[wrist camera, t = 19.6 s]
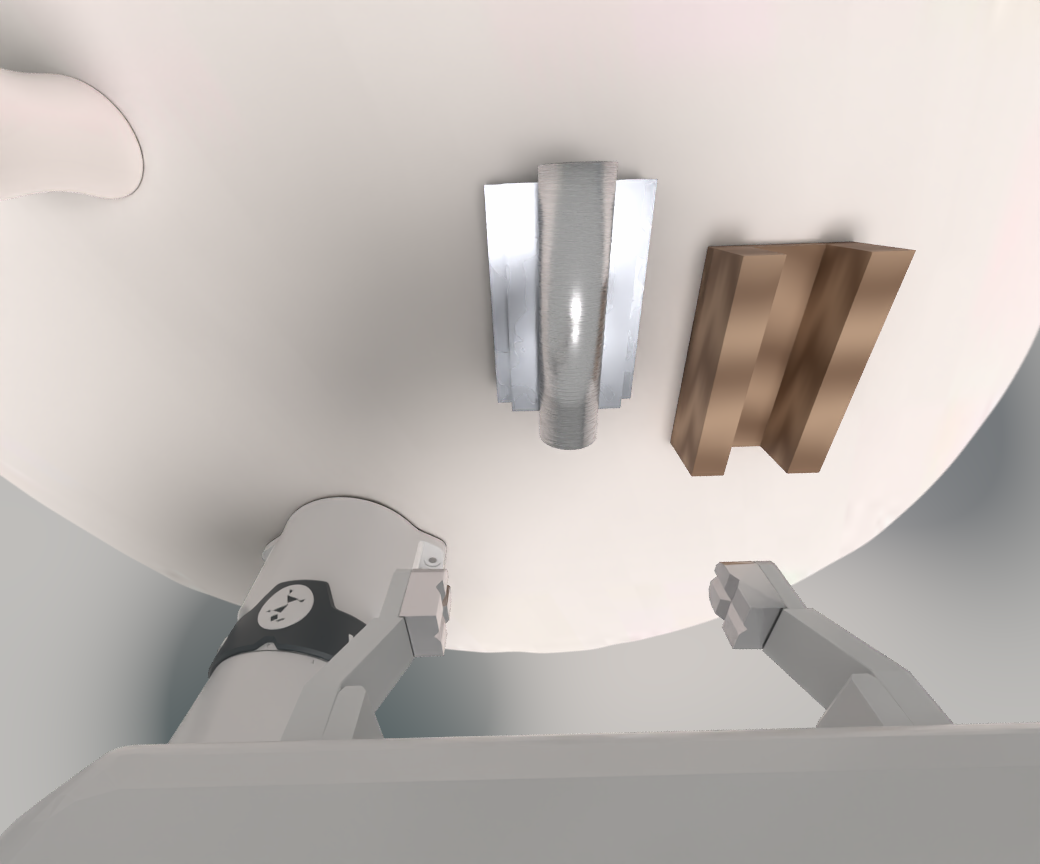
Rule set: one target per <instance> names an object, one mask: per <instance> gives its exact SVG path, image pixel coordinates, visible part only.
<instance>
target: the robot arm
mask: <svg viewBox="0 0 1040 864" xmlns="http://www.w3.org/2000/svg"><path fill="white" fill-rule="evenodd" d="M445 558H446V545H445V543H444V542H443V541H441V540H440V539H438V538H436V537H433V536H431V535H429V534H426V533H423V532H421V531H419V530H418V529H416V528H415V527H414V526H413V525H412V524H410V523H409V522H408V521H407V520H406V519H404V518H403V517H402V516H400V515H399V514H397V513H396V512H394V511H392V510H390V509H389V508H386V507H384V506H382V505H379V504H377V503H374V502H370V501H367V500H362V499H357V498H347V497H334V498H326V499H321V500H317V501H314V502H311V503H308V504H306V505H304V506H303V507H301V508H299V509H298V510H297V511H296V512H295V513H294V514H293V515H292V516H291V517H290V518H289V520H288V522H287V523H286V526H285V528H284V530H283V532H282V534H281V535H280V536H279V537H277V538H276V539H274V540H273V541H271V542H270V543H269V544H268V545H267V546H266V548H265V549H264V551H263V553H262V559H263V560H264V562H265V563H264V565H263V567H262V569H261V571H260V572H259V574H258V576H257V578H256V580H255V582H254V583H253V585H252V587H251V589H250V591H249V593H248V595H247V597H246V599H245V600H244V602H243V604H242V606H241V608H240V610H239V612H238V616H237V620H238V622H237V623H236V625H235V626H234V628H233V630H232V631H231V633H230V634H229V636H228V637H226V638H225V639H224V641H223V643H222V644H221V646H220V648H219V649H218V651H217V655H216V657H215V659H214V661H213V662H212V664H211V666H210V668H209V672H208V678H209V680H208V682H207V683H206V685H205V686H204V688H203V689H202V691H201V693H200V694H199V696H198V697H197V699H196V700H195V702H194V704H193V705H192V707H191V708H190V710H189V712H188V713H187V715H186V716H185V718H184V719H183V721H182V723H181V724H180V726H179V727H178V729H177V730H176V732H175V733H174V735H173V737H172V738H171V740H170V741H169V743H168V744H147V745H131V746H123V747H119V748H117V749H114V750H111V751H110V752H107V753H106V754H104V755H103V756H101V757H100V758H99V759H97V760H96V761H94V762H93V763H91V764H90V765H88V766H87V767H86V768H84V769H83V770H81V771H80V772H79V773H77V774H76V775H75V776H73V777H72V778H70V779H69V780H68V781H66V782H65V783H64V784H62V785H61V786H60V787H58V788H57V789H56V790H54V791H53V792H51V793H50V794H49V795H47V796H46V797H45V798H44V799H42V800H41V801H39V802H38V803H37V804H36V805H34V806H33V807H32V808H31V809H29V810H28V811H27V812H25V813H24V814H23V815H22V816H20V817H19V818H18V819H17V820H16V821H15V822H14V823H12V824H11V825H10V826H9V827H8V828H7V829H6V830H5V831H4V832H3V833H2V835H1V836H0V864H1040V722H1025V723H1024V722H1022V723H986V724H953V722H952V721H951V720H950V719H949V718H948V717H947V715H946V714H945V713H944V712H943V711H942V709H941V708H940V707H939V706H938V705H937V703H936V702H935V701H934V700H933V699H932V697H931V696H930V695H929V694H928V693H927V692H926V690H925V689H924V688H923V687H922V686H921V685H920V683H919V682H918V681H917V680H916V678H915V677H914V676H913V675H912V674H911V672H910V671H908V670H906V669H905V668H904V667H902V666H901V665H899V664H898V663H896V662H894V661H893V660H891V659H890V658H888V657H887V656H885V655H884V654H882V653H881V652H879V651H878V650H876V649H874V648H873V647H871V646H870V645H868V644H867V643H865V642H864V641H862V640H861V639H859V638H858V637H856V636H854V635H853V634H851V633H850V632H848V631H847V630H845V629H844V628H842V627H840V626H839V625H838V624H836V623H834V622H833V621H831V620H830V619H828V618H827V617H825V616H824V615H822V614H821V613H819V612H817V611H816V610H814V609H813V608H807V607H806V606H805V604H804V603H803V602H802V600H801V599H800V598H799V596H798V595H797V593H796V592H795V591H794V590H793V588H792V587H791V585H790V584H789V582H788V581H787V580H786V578H785V577H784V576H783V574H782V573H781V572H780V570H779V569H778V567H777V566H776V565H775V564H774V563H773V562H771V561H753V562H752V561H739V562H719V563H718V564H717V565H716V568H715V570H714V571H715V573H716V575H717V577H715V578H714V579H713V580H712V581H711V582H710V586H709V599H710V602H711V605H712V608H713V610H714V612H715V614H717V615H718V616H719V617H721V618H722V619H723V620H724V622H723V626H722V628H723V630H724V632H725V634H726V636H727V638H728V640H729V642H730V644H731V646H732V648H733V649H763V652H765V653H766V654H767V655H768V656H769V657H770V658H771V659H772V660H773V661H774V662H775V663H776V664H777V665H779V666H780V667H781V668H782V669H783V670H784V671H785V672H786V673H787V674H788V675H789V676H790V677H791V678H792V679H794V680H795V681H796V682H797V683H798V684H799V685H800V686H801V687H802V688H803V689H804V690H806V691H807V692H808V693H809V694H810V695H811V696H812V697H813V698H814V699H815V700H816V701H817V702H818V703H819V704H821V705H822V706H823V707H824V708H825V709H826V711H825V713H824V714H823V716H822V717H821V718H820V720H819V721H818V723H817V725H816V728H788V729H787V728H786V729H748V730H747V729H746V730H710V731H709V730H706V731H671V732H670V731H666V732H630V733H629V732H625V733H587V734H549V735H513V736H512V735H511V736H472V737H430V738H390V739H384V737H383V735H382V732H381V729H380V727H379V724H378V721H377V719H376V716H375V714H374V713H375V712H376V710H377V709H378V708H379V706H380V705H381V703H382V702H383V701H384V699H385V698H386V696H387V695H388V694H389V692H390V691H391V690H392V689H393V687H394V686H395V684H396V683H397V682H398V680H399V679H400V678H401V676H402V675H403V674H404V672H405V671H406V670H407V668H408V667H409V666H410V664H411V663H412V661H413V660H414V657H428V656H444V650H445V644H446V638H447V630H446V622H447V621H448V620H449V618H450V610H451V590H450V586H448V585H447V583H448V571H447V569H444V567H445Z"/></svg>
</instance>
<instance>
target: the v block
mask: <svg viewBox="0 0 1040 864" xmlns="http://www.w3.org/2000/svg"><path fill="white" fill-rule="evenodd" d="M656 187H657V179H624V180H617V181H616V194H615V206H614V219H613V231H612V244H611V257H610V269H609V282H608V294H607V307H606V319H605V332H604V345H603V357H602V370H601V382H600V395H599V408H598V409H603V408H620V406H621V399H627V398H630V397H631V389H632V381H633V373H634V364H635V356H636V348H637V340H638V332H639V324H640V316H641V308H642V300H643V292H644V284H645V276H646V267H647V259H648V251H649V243H650V235H651V227H652V219H653V211H654V203H655V195H656ZM484 192H485V208H486V223H487V239H488V255H489V270H490V286H491V302H492V318H493V333H494V349H495V365H496V380H497V396H498V403H499V402H512V411H538V410H539V251H538V182H536V183H506V184H497V185H484Z"/></svg>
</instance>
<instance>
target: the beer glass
mask: <svg viewBox="0 0 1040 864" xmlns="http://www.w3.org/2000/svg"><path fill="white" fill-rule="evenodd" d="M142 174H143V159H142V154H141V150H140V146H139V144H138V141H137V139H136V136H135V134H134V132H133V130H132V129H131V127H130V125H129V124H128V122H127V121H126V119H125V118H124V116H123V115H122V114H121V113H120V111H119V110H118V109H117V108H116V107H115V106H114V105H113V104H112V103H111V102H110V101H109V100H108V99H107V98H106V97H105V96H104V95H102V94H101V93H100V92H99V91H97V90H96V89H94V88H93V87H91V86H89V85H88V84H86V83H84V82H82V81H80V80H78V79H75V78H72V77H69V76H65V75H60V74H51V73H24V72H16V71H11V70H6V69H3V68H0V201H4V200H8V199H13V198H17V197H22V196H27V195H32V194H37V193H43V192H55V191H62V192H74V193H80V194H85V195H89V196H93V197H98V198H103V199H120V198H123V197H126V196H128V195H130V194H131V193H133V192H134V191H135V190H136V188H137V187H138V186H139V184H140V181H141V178H142Z"/></svg>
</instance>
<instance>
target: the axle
mask: <svg viewBox="0 0 1040 864" xmlns="http://www.w3.org/2000/svg"><path fill="white" fill-rule="evenodd" d="M617 169H618V162H607V161H599V162H570V163H555V164H545V165H539V166H538V251H539V412H540V438H541V440H542V441H543V442H544V443H546V444H547V445H549V446H551V447H554V448H558V449H564V450H575V449H581V448H584V447H587V446H589V445H590V444H592V443H593V442H594V441H595V439H596V433H597V420H598V408H599V395H600V382H601V370H602V357H603V345H604V332H605V319H606V307H607V294H608V282H609V269H610V257H611V244H612V231H613V219H614V206H615V194H616V181H617Z"/></svg>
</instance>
